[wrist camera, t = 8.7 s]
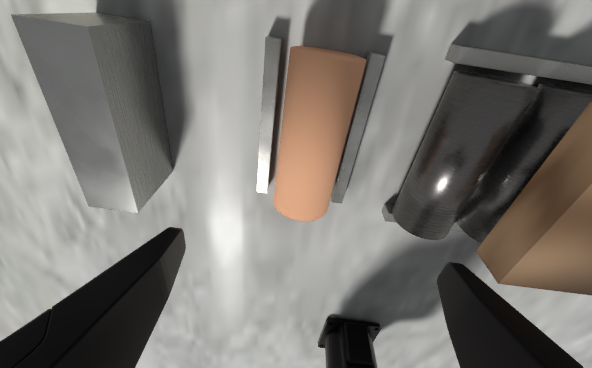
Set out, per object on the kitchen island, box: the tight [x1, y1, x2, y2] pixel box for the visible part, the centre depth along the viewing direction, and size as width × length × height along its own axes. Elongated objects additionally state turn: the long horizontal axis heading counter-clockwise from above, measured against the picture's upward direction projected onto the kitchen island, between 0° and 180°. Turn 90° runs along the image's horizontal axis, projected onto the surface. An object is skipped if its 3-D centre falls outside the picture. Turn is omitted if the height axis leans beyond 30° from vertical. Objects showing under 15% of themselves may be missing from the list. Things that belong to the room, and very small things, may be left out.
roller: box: [274, 46, 366, 221], centre depth 16 cm, size 10×4×4 cm, turn 172°
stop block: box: [11, 13, 173, 213], centre depth 15 cm, size 10×3×5 cm, turn 172°
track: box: [257, 36, 592, 243], centre depth 17 cm, size 12×29×4 cm, turn 82°
